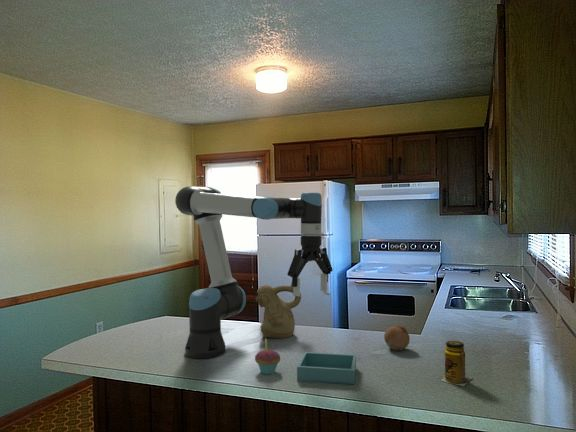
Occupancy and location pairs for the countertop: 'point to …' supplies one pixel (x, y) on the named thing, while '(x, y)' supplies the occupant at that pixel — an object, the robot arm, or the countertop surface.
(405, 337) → the onion
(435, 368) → the countertop surface
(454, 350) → the condiment
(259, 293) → the ceramic vessel
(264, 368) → the cupcake
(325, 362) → the tub
